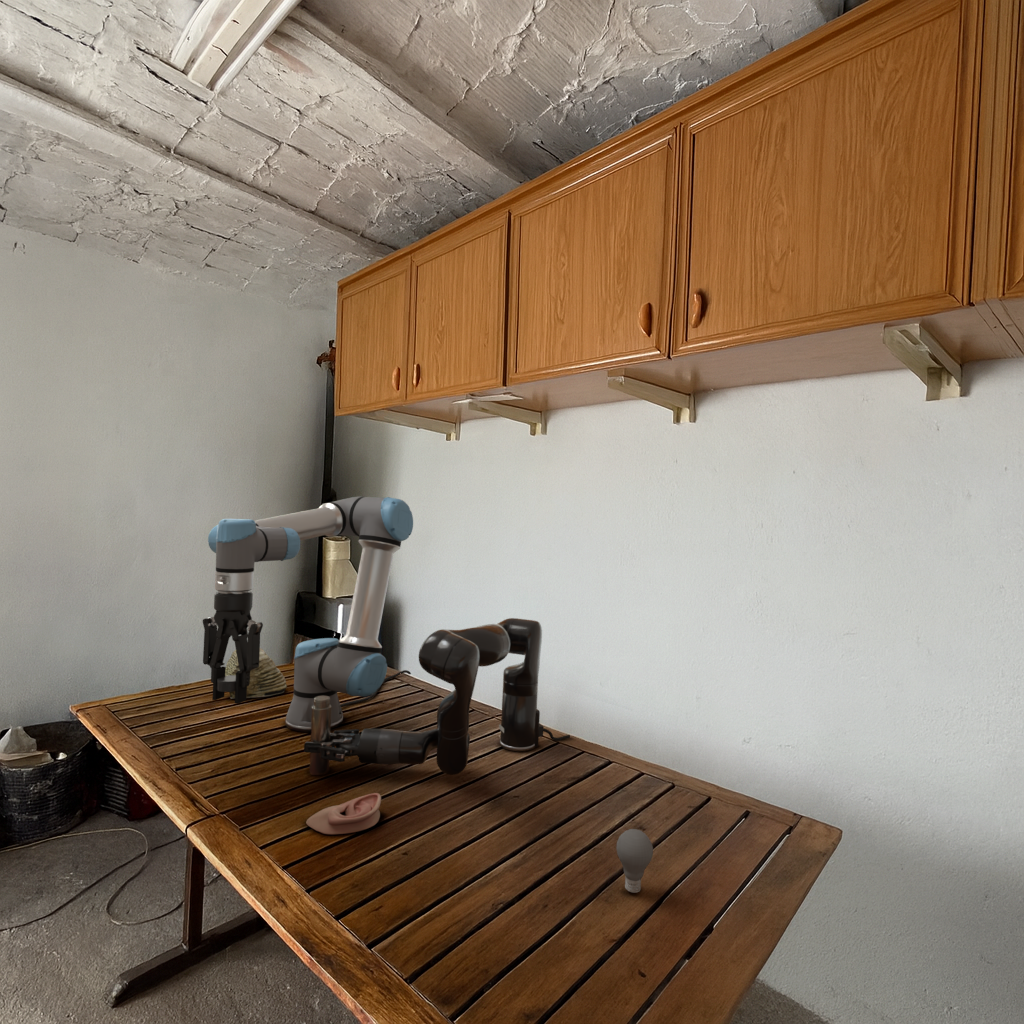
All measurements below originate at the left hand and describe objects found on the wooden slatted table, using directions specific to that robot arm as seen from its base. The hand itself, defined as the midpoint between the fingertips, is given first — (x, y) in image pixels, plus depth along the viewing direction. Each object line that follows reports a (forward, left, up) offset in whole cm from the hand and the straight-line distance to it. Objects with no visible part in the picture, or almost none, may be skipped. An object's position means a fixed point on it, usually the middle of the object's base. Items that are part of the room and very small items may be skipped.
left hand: (229, 699), depth 135 cm
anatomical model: (-9, +29, -19) cm, 36 cm away
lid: (0, 0, +4) cm, 4 cm away
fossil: (-37, -54, -19) cm, 68 cm away
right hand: (-17, +4, -13) cm, 22 cm away
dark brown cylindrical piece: (-19, +7, -19) cm, 28 cm away
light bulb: (-28, +82, -19) cm, 89 cm away
